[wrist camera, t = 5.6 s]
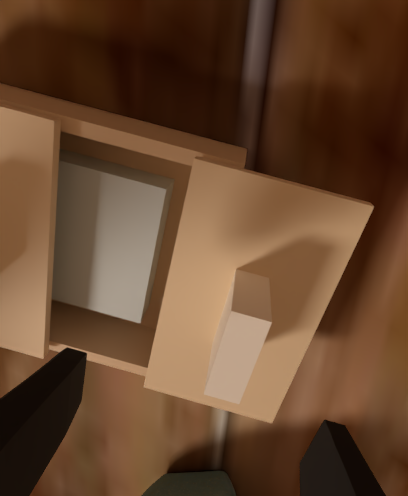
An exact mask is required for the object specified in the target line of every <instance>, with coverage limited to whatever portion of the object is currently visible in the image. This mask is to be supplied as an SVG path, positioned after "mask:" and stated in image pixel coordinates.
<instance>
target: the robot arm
mask: <svg viewBox="0 0 408 496" xmlns="http://www.w3.org/2000/svg"><path fill="white" fill-rule="evenodd" d="M86 359H87V353H86V352H82V351H79V350H75V349H72V348H68V347H67V348H65V349H63V350H62V351H61V352H60V353H58V354H57V355H56V356H55V357H54V358H52V359H51V360H50V361H49V362H48V363H46V364H45V365H44V366H43V367H41V368H40V369H39V370H38V371H36V372H35V373H34V374H32V375H31V376H30V377H29V378H27V379H26V380H25V381H23V382H22V383H21V384H19V385H18V386H17V387H15V388H14V389H13V390H11V391H10V392H8V393H7V394H6V395H4V396H3V397H2V398H0V496H29V495H30V494H31V492H32V490H33V489H34V487H35V485H36V484H37V482H38V480H39V479H40V477H41V475H42V474H43V472H44V470H45V469H46V467H47V465H48V464H49V462H50V460H51V459H52V457H53V455H54V454H55V452H56V450H57V448H58V447H59V445H60V443H61V442H62V440H63V438H64V437H65V435H66V433H67V431H68V429H69V426H70V424H71V422H72V420H73V418H74V416H75V414H76V411H77V409H78V407H79V405H80V403H81V400H82V392H83V384H84V375H85V367H86ZM300 496H386V495H385V493H384V492H383V490H382V488H381V487H380V485H379V483H378V482H377V480H376V478H375V477H374V475H373V473H372V471H371V470H370V468H369V466H368V465H367V463H366V461H365V459H364V458H363V456H362V454H361V452H360V451H359V449H358V447H357V445H356V444H355V442H354V440H353V438H352V437H351V435H350V433H349V432H348V430H347V428H346V427H345V425H342V424H338V423H335V422H331V421H328V420H324V421H323V423H322V425H321V427H320V428H319V430H318V432H317V434H316V435H315V437H314V439H313V441H312V442H311V444H310V446H309V448H308V449H307V451H306V453H305V455H304V456H303V458H302V460H301V462H300Z"/></svg>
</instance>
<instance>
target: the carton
mask: <svg viewBox="0 0 408 496" xmlns="http://www.w3.org/2000/svg"><path fill="white" fill-rule="evenodd" d="M0 103H1V104H4V105H8V106H12V107H16V108H19V109H23V110H27V111H31V112H34V113H38V114H42V115H46V116H49V117H53V118H57V119H60V120H61V131H60V149H59V168H58V187H57V205H56V224H55V243H54V261H53V280H52V299H51V317H50V336H49V349H50V350H54V351H57V352H61V351H62V350H63V349H65V348H67V347H68V348H72V349H75V350H79V351H82V352H86V353H87V359H86V360H89V361H93V362H96V363H100V364H104V365H107V366H111V367H114V368H118V369H121V370H125V371H128V372H132V373H135V374H139V375H143V376H146V373H147V369H148V364H149V360H150V355H151V351H152V346H153V342H154V337H155V333H156V328H157V324H158V319H159V314H160V310H161V305H162V301H163V296H164V292H165V287H166V283H167V278H168V274H169V269H170V265H171V260H172V256H173V251H174V247H175V242H176V238H177V233H178V228H179V224H180V219H181V215H182V210H183V206H184V201H185V197H186V192H187V188H188V183H189V179H190V174H191V170H192V165H193V161H194V158H195V157H196V156H199V157H202V158H206V159H210V160H214V161H217V162H221V163H225V164H228V165H232V166H236V167H240V168H243V169H244V167H245V162H246V155H247V149H246V148H243V147H239V146H235V145H231V144H228V143H224V142H220V141H216V140H213V139H209V138H205V137H201V136H198V135H194V134H190V133H186V132H183V131H179V130H175V129H171V128H168V127H164V126H160V125H156V124H153V123H149V122H145V121H141V120H138V119H134V118H130V117H126V116H123V115H119V114H115V113H111V112H108V111H104V110H100V109H96V108H93V107H89V106H85V105H81V104H78V103H74V102H70V101H66V100H63V99H59V98H55V97H51V96H48V95H44V94H40V93H36V92H33V91H29V90H25V89H21V88H17V87H14V86H10V85H6V84H2V83H0Z"/></svg>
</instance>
